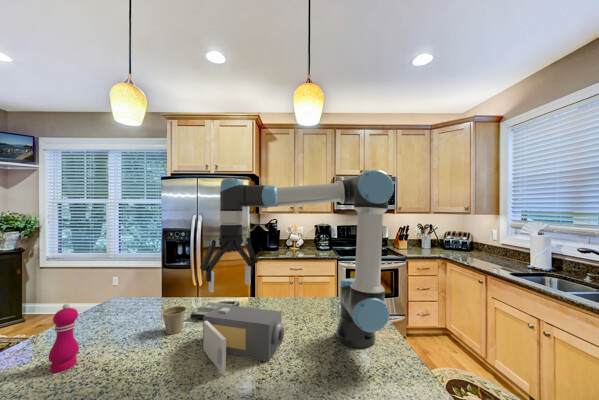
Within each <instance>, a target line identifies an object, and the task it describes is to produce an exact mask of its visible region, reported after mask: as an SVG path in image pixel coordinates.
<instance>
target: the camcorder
mask: <svg viewBox="0 0 599 400" xmlns="http://www.w3.org/2000/svg"><path fill="white" fill-rule="evenodd" d="M221 305H230V306H239V307H240V301H238V300H221V301H218V302H211V301H210V302H209V301H208V302H207V304H202V305H200V306H198V308H197V311H195V310H192V311H191V314H190V319H191V320H192V319H194V318H198V319H203V316H204V315H206V314H208V313H209V312H211V311H213V310H214V309H216V308H217V307H219V306H221Z"/></svg>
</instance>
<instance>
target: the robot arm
mask: <svg viewBox="0 0 599 400" xmlns="http://www.w3.org/2000/svg"><path fill="white" fill-rule="evenodd" d="M219 189H220V191H219V197H220V198H219V203H220V205H219V206H220V207H219V208H220V209H219V224H220V225H219V239H210V240H209V246H208V248H207V251H206V253H205V255H204V257H203V260H202V262H201V264H200V266H199V269H200V270H202V271H204V272H205V281H206V282H207V283H208V291H209V292H210V293H214V291H215V289H214V288H215V271H214V270H213V269H214V268H215V266H216V265H217V264H218V262H219V261H220V260H221V258H222V256H223V255H225V253H231V252H238V253H239V255H240V257H241V258H242V259H243V260H244V261H245V263H246V264H245V265H244V271H245V272H244V284H245V285H247V286H251V284H252V283H251V282H252V281H251V280H252V279H251V278H252V277H251V276H253V272H254V271H253V268H254V266H255V264H257V263H258V262H259V261H258V258H257V256H256V253H255V250H254V249H253V248H254V247H253V245H252V239H251V237H249V236H248V237H247V236H246V237H244V238H243V224H242V223H243V213H244V211H243V207H245V208H247V207H250V208H251V207H253V208H254V207H255V208H261V209H266V208H267V209H268V208H275V207H285V206H286V207H288V206H298V205H300V206H301V205H311V204H312V205H313V204H314V205H315V204H324V203H337V202H338V203H340V204H341V205H344V204H352V205H353V209H354V210H355V211H356V213H357V222H356V223H357V224H356V247H355V268H354V269H355V270H354V271H355V272H354V273H355V274H354V278H344V279H341V280H340V285H339V289H340V290H339V291H340V293H339V294H340V297H339V298H340V300H339V301H340V307H339V308H340V316H339V317H340V318H339V320H338V324H337V327H336V332H335V333H336V334H335V335H336V337H335V338H336V340H337V341H338V342H339V343H341V344H342V345H345V346H347V347H351V348H354V349H355V348H357V349H358V348H359V349H364V348H369V347H371V346H373V345H374V344H376V343H375V342H376V332H378V331H380V330H382V329H383V328H385V326H386V325H387V324H388V321H389V319H390V311H389V308H388V307H389V306H387V303H386V302H385V297H386V295H385V291H386V290H385V287H384V286H383V285H382V284H381V275H382V274H381V273H382V271H381V268H382V252H383V251H382V249H383V248H382V247H383V246H382V245H383V243H382V242H383V224H384V223H383V222H384V221H383V220H384V219H383V218H384V217H383V216H384V214H385V213H386V212H387V211H388V209H389V207H388V206H389V200H390V199H391V197H392V196H393V194H394V191H395V187H394V182H393V180H392V178H391V177H390V175H389V174H388V173H386V172H385V171H383V170H380V169H371V170H370V169H369V170H366V171H364V172H362V173H361V174H359V175H357V176H354V177H352V178H348V179H343V180H339V181H338V182H335V183H319V184H310V185H308V184H307V185H297V186H295V185H293V186H282V187H277V186H276V185H271V184H265V185H264V184H262V185H261V184H259V185H257V184H253V185H252V184H251V185H250V184H244V181H243V180H242V179H239V178H224V179H222V180H221V182H220V188H219ZM242 244H244V245H245V248H246V251H247V253H248V254H247V253H246V251H245V250H244V249H243V246H241V245H242ZM218 245H219V248H218V250H217V252H216V253H215V254H214V252H215V250H216V247H217V246H218ZM213 254H214V256H213ZM212 256H213V257H212Z"/></svg>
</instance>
